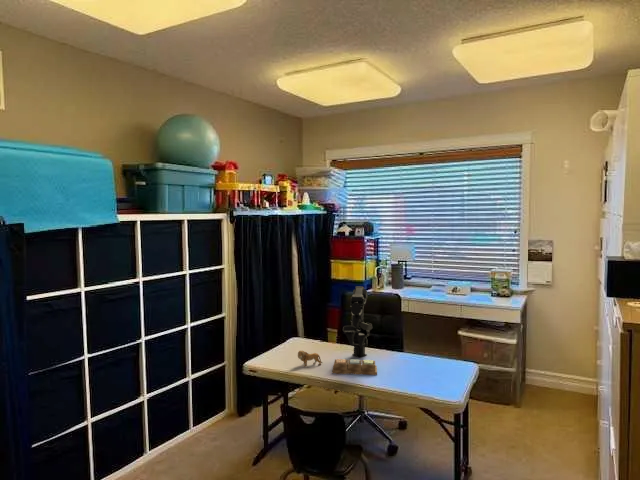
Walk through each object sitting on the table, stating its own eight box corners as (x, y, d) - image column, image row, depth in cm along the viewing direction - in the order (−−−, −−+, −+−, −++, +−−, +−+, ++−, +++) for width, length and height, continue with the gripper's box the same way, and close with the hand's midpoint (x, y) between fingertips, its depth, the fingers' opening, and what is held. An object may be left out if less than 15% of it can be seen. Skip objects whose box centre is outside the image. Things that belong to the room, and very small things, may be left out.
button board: (332, 373, 238) (332, 364, 238) (333, 367, 248) (333, 358, 248) (377, 374, 236) (377, 366, 235) (376, 368, 246) (376, 359, 245)
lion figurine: (299, 368, 247) (298, 352, 246) (296, 365, 252) (296, 349, 251) (324, 365, 251) (323, 349, 251) (321, 362, 256) (321, 346, 256)
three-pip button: (336, 365, 240) (336, 361, 240) (336, 362, 245) (336, 358, 245) (345, 365, 240) (345, 361, 240) (345, 362, 245) (345, 358, 244)
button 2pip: (363, 366, 239) (363, 362, 238) (363, 363, 244) (364, 359, 243) (373, 366, 238) (373, 362, 238) (373, 363, 243) (373, 359, 243)
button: (350, 366, 239) (350, 362, 239) (350, 362, 244) (350, 359, 244) (359, 366, 239) (359, 362, 239) (359, 363, 244) (359, 359, 244)
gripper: (360, 314, 234) (359, 344, 229) (378, 319, 248) (377, 348, 243) (342, 315, 241) (341, 344, 235) (361, 320, 254) (360, 348, 249)
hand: (356, 346), depth 240 cm, fingers open, 9 cm apart
